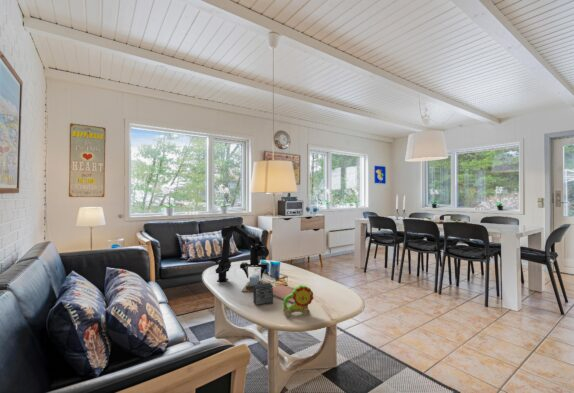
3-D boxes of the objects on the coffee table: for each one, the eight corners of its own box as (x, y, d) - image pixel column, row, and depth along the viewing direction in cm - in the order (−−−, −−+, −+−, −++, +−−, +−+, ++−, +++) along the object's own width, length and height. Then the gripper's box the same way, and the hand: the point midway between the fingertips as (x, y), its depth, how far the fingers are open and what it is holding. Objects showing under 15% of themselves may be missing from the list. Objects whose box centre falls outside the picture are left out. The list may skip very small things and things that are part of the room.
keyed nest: (248, 283, 205) (248, 278, 205) (266, 283, 204) (266, 279, 204) (241, 292, 187) (241, 287, 187) (261, 292, 186) (261, 288, 186)
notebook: (312, 297, 178) (312, 294, 178) (293, 305, 167) (293, 301, 166) (282, 287, 198) (282, 284, 198) (263, 293, 186) (263, 290, 186)
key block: (249, 288, 191) (249, 277, 191) (252, 283, 200) (252, 273, 200) (256, 288, 191) (256, 278, 191) (259, 284, 200) (259, 274, 199)
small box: (270, 299, 174) (270, 282, 174) (273, 303, 168) (273, 285, 168) (253, 301, 171) (252, 284, 170) (255, 306, 165) (255, 287, 164)
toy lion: (284, 317, 149) (284, 288, 149) (282, 313, 155) (282, 285, 154) (314, 315, 152) (314, 286, 151) (311, 311, 157) (311, 283, 157)
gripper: (270, 253, 202) (270, 275, 202) (244, 252, 204) (244, 274, 204) (267, 256, 191) (267, 280, 191) (239, 256, 193) (239, 279, 193)
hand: (254, 278), depth 195 cm, fingers open, 9 cm apart
